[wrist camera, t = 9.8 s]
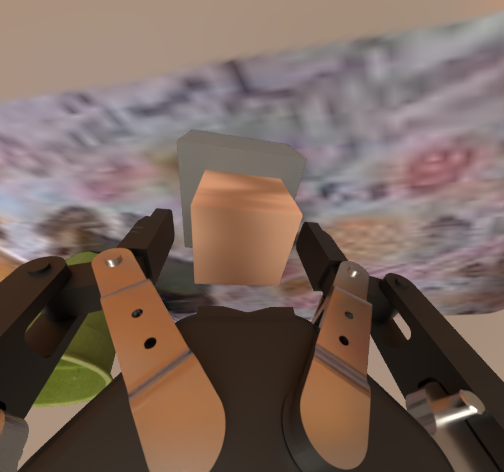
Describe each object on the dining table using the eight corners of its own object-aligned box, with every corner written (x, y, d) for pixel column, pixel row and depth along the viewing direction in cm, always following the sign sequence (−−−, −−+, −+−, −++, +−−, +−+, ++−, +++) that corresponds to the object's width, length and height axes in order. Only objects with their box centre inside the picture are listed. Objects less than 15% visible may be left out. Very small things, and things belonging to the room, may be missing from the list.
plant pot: (135, 310, 28) (88, 412, 19) (35, 280, 23) (-96, 399, 14) (172, 264, 23) (133, 370, 14) (56, 212, 18) (-124, 326, 9)
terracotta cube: (280, 178, 13) (302, 214, 9) (266, 237, 15) (278, 286, 11) (205, 169, 12) (190, 205, 8) (205, 233, 15) (194, 283, 11)
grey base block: (288, 144, 16) (306, 159, 12) (269, 223, 21) (278, 252, 17) (192, 129, 15) (176, 140, 11) (194, 216, 19) (184, 247, 15)
